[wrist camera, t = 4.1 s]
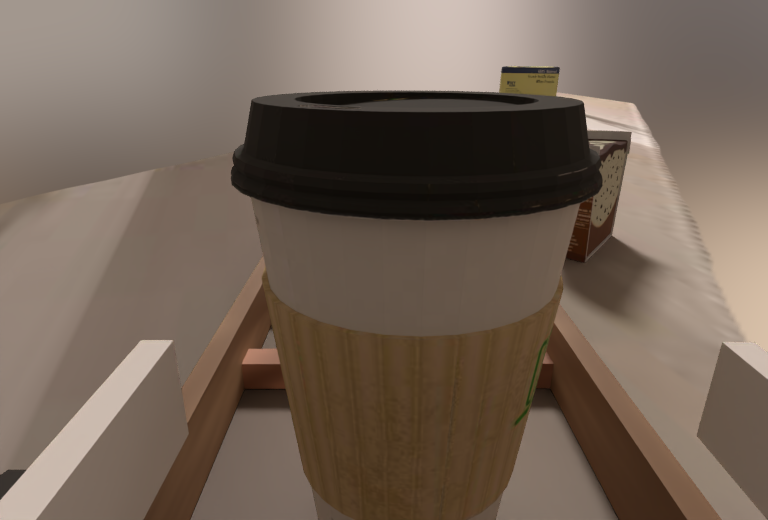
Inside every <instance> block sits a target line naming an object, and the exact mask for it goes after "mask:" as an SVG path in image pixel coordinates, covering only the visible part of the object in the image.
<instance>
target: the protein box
mask: <svg viewBox="0 0 768 520" xmlns="http://www.w3.org/2000/svg"><path fill="white" fill-rule="evenodd" d="M559 69H560V68H559V67H534V66H533V67H531V66H530V67H529V66H513V67H512V66H511V67H510V66H508V67H507V66H506V67H502V71H501V79H500V89H499V93H516V94H532V95H546V96H556V92H557V85H558V77H559Z"/></svg>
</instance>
